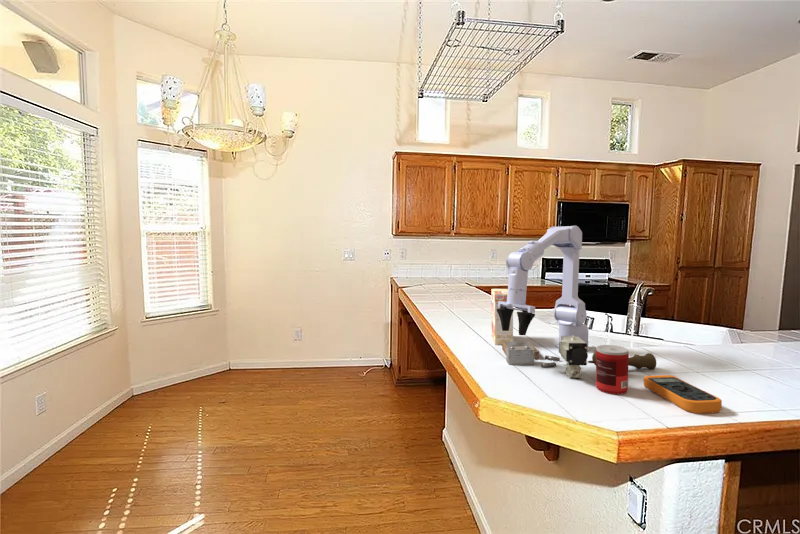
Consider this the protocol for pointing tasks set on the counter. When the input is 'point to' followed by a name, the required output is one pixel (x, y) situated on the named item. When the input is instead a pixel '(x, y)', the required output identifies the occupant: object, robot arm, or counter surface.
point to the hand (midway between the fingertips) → (513, 332)
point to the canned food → (612, 369)
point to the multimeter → (683, 394)
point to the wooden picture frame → (504, 344)
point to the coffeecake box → (497, 331)
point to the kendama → (637, 361)
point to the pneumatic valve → (573, 354)
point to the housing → (520, 355)
